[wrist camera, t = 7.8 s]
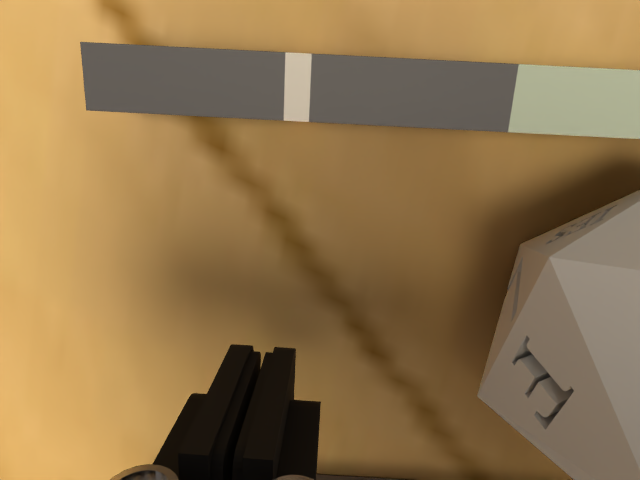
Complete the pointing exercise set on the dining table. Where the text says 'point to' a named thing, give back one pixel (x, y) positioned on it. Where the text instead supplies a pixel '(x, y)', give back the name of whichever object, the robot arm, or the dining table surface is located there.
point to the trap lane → (362, 93)
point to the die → (574, 344)
